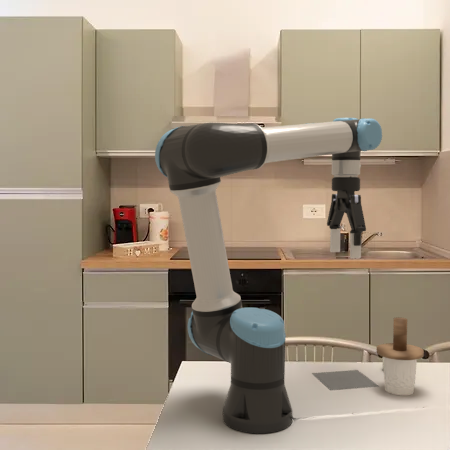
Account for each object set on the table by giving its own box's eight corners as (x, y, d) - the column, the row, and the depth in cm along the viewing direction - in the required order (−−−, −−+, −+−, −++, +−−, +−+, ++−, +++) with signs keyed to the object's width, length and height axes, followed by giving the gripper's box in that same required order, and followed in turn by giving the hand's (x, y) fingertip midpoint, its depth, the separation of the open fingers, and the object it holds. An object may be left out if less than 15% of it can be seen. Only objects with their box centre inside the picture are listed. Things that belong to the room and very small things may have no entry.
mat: (330, 393, 143) (330, 390, 143) (311, 376, 156) (311, 373, 156) (379, 389, 146) (379, 386, 146) (357, 372, 158) (357, 369, 158)
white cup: (412, 388, 147) (413, 349, 146) (419, 399, 139) (420, 358, 138) (380, 387, 147) (380, 348, 147) (385, 398, 139) (386, 357, 139)
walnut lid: (390, 361, 136) (391, 325, 135) (368, 348, 146) (369, 315, 146) (432, 358, 138) (433, 322, 137) (408, 345, 149) (409, 312, 148)
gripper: (380, 176, 146) (378, 260, 148) (340, 176, 170) (339, 249, 172) (352, 176, 144) (351, 261, 146) (316, 176, 169) (315, 250, 170)
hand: (344, 255), depth 159 cm, fingers open, 13 cm apart
